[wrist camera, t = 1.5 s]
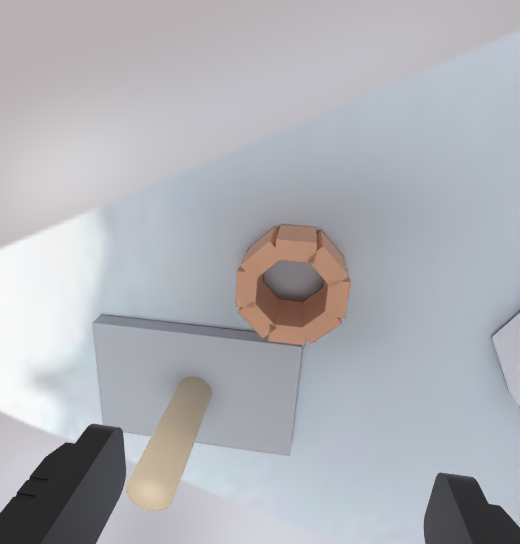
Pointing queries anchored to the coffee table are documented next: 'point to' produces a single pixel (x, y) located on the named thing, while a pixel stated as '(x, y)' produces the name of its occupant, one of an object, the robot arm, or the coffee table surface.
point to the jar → (510, 355)
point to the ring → (287, 313)
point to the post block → (192, 394)
